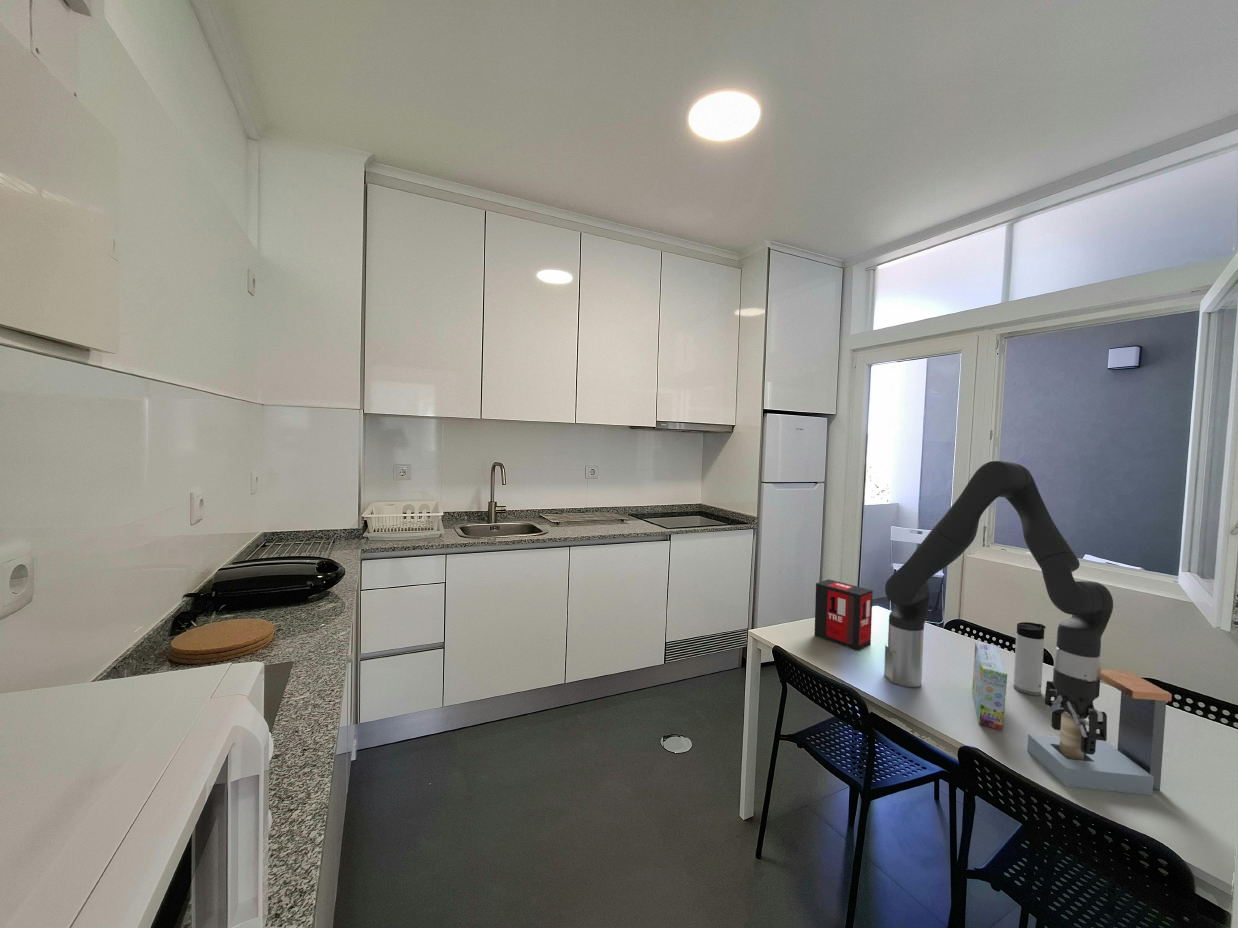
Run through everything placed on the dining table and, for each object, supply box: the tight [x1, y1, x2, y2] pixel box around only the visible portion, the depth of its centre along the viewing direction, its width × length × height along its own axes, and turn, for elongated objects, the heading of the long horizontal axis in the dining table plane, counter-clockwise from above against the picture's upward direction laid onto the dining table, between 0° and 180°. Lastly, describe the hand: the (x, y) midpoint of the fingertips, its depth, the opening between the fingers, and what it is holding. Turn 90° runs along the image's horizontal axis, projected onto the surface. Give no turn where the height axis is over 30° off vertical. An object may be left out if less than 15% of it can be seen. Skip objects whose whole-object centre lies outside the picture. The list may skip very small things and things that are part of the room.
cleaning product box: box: [814, 579, 873, 652], centre depth 176 cm, size 16×9×20 cm, turn 37°
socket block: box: [1026, 733, 1154, 796], centre depth 107 cm, size 16×12×4 cm
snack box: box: [971, 641, 1008, 731], centre depth 132 cm, size 21×6×15 cm, turn 148°
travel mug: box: [1012, 621, 1046, 696], centre depth 142 cm, size 6×7×20 cm
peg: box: [1059, 712, 1087, 761], centre depth 108 cm, size 4×4×12 cm
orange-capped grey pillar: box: [1100, 668, 1173, 791], centre depth 106 cm, size 7×10×22 cm
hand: (1072, 740), depth 107 cm, fingers open, 8 cm apart
